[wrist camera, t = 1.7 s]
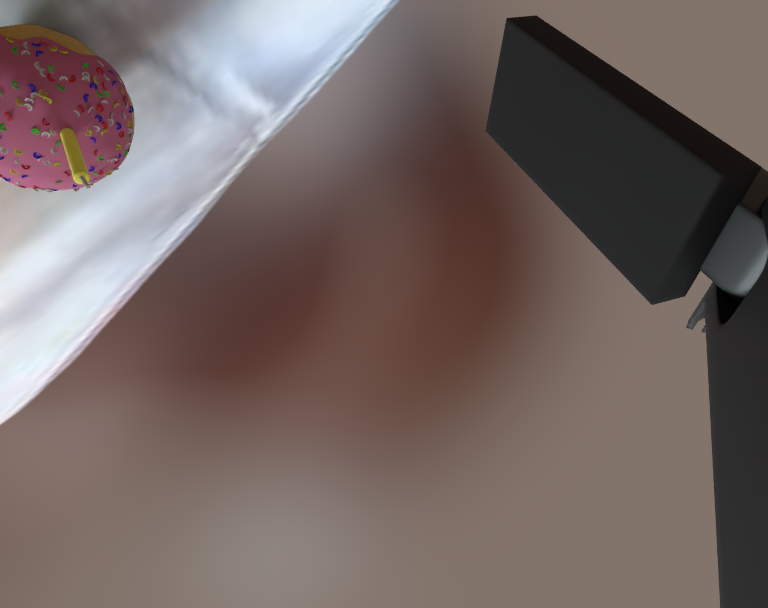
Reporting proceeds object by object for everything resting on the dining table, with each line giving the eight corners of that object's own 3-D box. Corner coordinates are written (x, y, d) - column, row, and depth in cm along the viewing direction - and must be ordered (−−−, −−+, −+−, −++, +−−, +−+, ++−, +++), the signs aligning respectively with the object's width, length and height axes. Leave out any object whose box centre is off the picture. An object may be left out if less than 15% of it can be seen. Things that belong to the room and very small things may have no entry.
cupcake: (98, -14, 30) (103, 82, 22) (151, 132, 36) (168, 247, 28) (-83, 10, 28) (-149, 125, 20) (5, 160, 34) (-20, 292, 26)
